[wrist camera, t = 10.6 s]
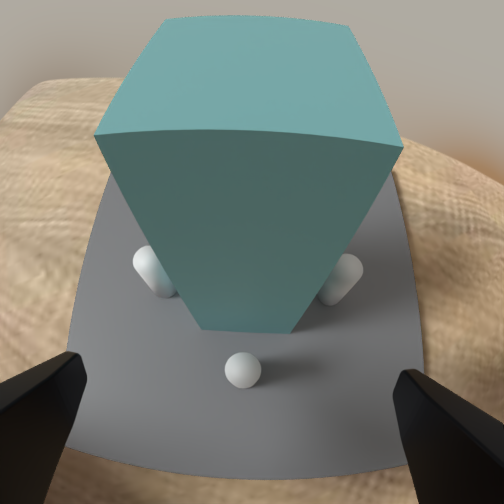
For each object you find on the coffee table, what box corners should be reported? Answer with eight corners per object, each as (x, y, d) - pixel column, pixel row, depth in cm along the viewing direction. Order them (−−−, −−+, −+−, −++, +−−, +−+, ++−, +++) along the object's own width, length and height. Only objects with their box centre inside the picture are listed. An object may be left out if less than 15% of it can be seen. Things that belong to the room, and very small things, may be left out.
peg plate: (416, 458, 13) (458, 468, 9) (66, 443, 13) (23, 449, 9) (385, 170, 22) (405, 130, 18) (121, 159, 22) (104, 118, 18)
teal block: (289, 333, 16) (403, 147, 4) (201, 329, 16) (93, 135, 4) (289, 254, 18) (348, 25, 6) (209, 250, 18) (165, 19, 6)
